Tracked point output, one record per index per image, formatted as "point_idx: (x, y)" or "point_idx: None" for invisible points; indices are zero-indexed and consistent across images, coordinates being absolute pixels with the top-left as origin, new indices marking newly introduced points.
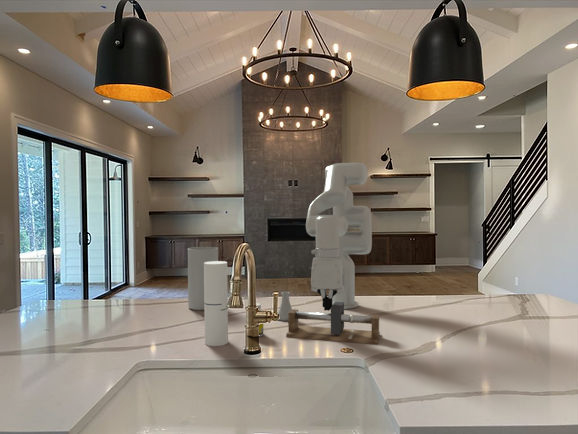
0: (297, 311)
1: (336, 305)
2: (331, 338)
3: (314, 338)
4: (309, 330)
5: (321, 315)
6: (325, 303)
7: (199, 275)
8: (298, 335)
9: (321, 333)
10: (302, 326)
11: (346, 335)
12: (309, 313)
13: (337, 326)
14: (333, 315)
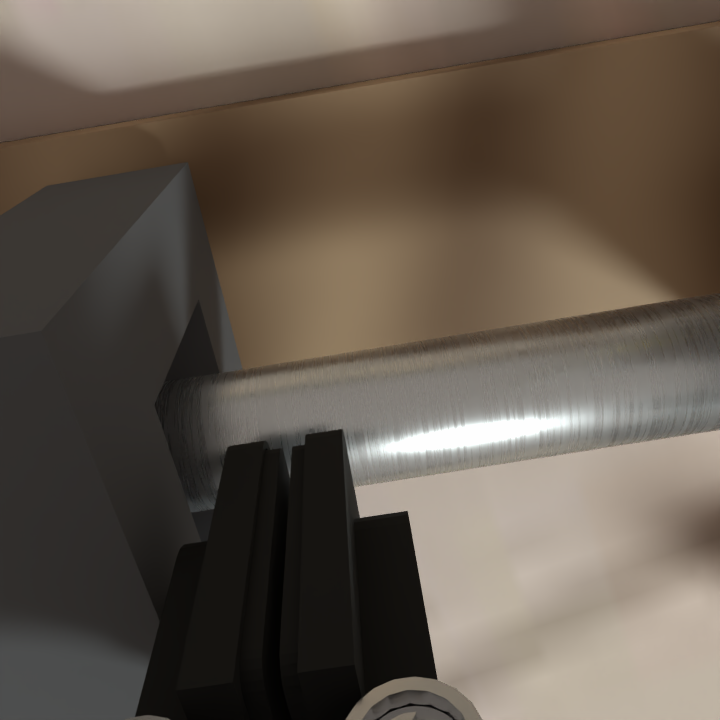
0: None
1: (33, 590)
2: (171, 118)
3: (416, 73)
4: (561, 288)
5: (405, 380)
6: (305, 539)
7: None
8: (664, 32)
9: (366, 230)
10: None
11: None
12: (659, 365)
13: (43, 212)
14: (40, 261)
